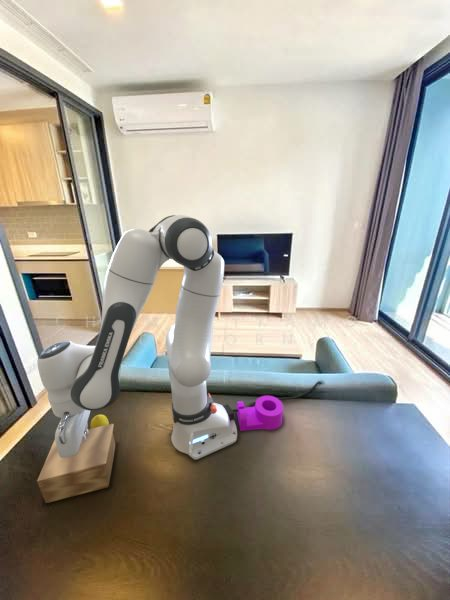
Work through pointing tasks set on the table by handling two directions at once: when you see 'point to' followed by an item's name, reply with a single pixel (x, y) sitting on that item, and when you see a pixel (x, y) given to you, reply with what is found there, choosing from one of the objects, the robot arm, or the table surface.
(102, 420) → the lemon
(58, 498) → the chest
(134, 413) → the table surface
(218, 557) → the table surface
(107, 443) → the lid
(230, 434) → the robot arm
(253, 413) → the magenta bearing bracket
